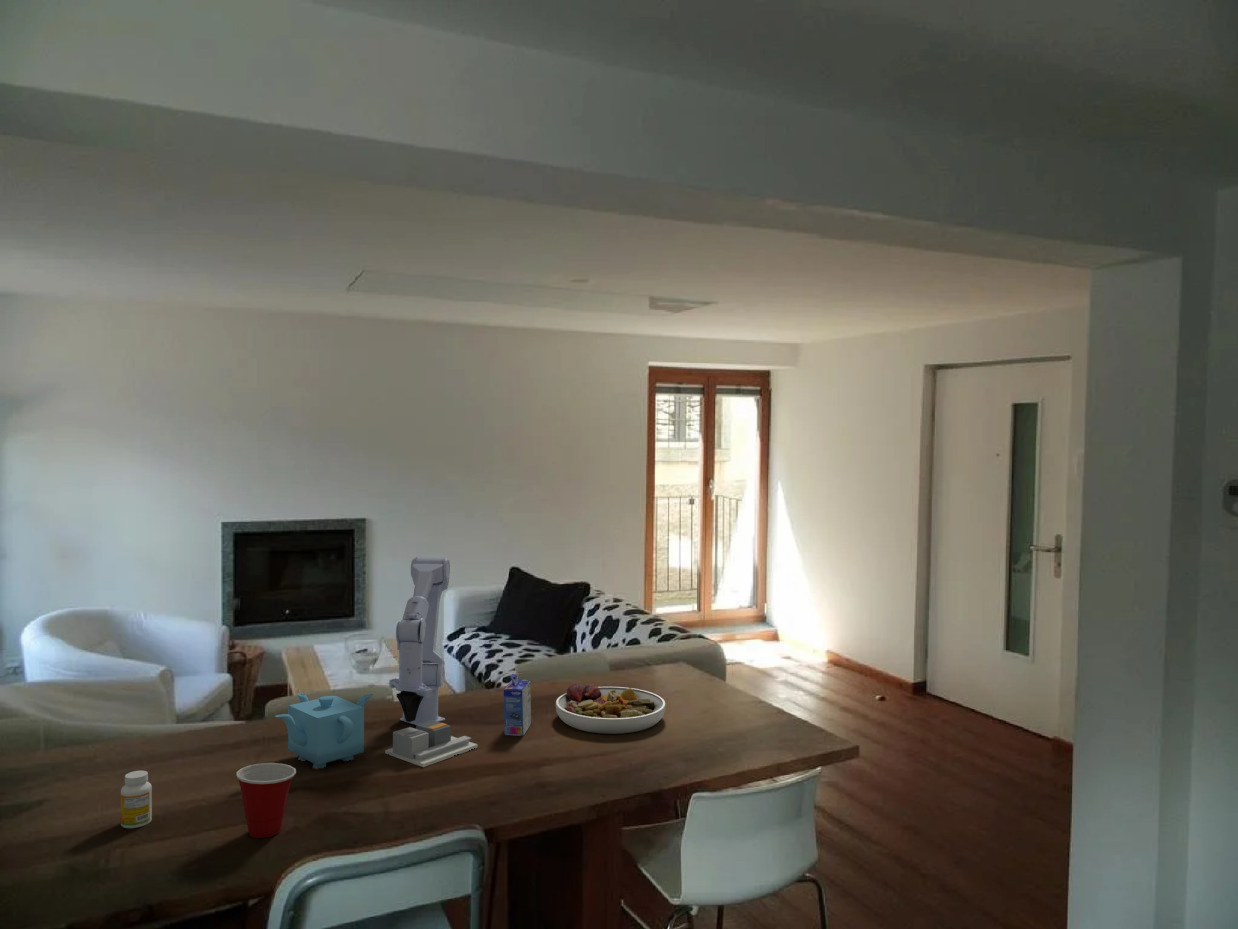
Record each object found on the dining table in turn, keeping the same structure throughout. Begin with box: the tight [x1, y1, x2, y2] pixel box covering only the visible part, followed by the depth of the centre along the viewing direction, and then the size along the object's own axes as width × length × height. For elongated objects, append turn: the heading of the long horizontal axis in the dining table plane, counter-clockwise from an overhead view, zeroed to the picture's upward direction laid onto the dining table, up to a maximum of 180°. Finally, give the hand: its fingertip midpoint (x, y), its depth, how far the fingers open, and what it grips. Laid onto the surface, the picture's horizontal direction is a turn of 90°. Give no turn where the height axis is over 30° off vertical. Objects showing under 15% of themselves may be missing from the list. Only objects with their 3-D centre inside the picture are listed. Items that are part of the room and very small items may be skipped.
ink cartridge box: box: [503, 673, 532, 737], centre depth 232 cm, size 10×6×14 cm, turn 174°
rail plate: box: [384, 726, 478, 768], centre depth 216 cm, size 14×17×6 cm
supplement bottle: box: [120, 770, 153, 829], centre depth 174 cm, size 5×5×10 cm
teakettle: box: [274, 692, 374, 769], centre depth 210 cm, size 19×19×15 cm
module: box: [415, 720, 452, 748], centre depth 217 cm, size 7×5×5 cm
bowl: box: [555, 683, 666, 735], centre depth 242 cm, size 30×30×8 cm
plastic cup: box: [236, 762, 297, 839], centre depth 171 cm, size 11×11×12 cm
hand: (410, 720), depth 223 cm, fingers closed
